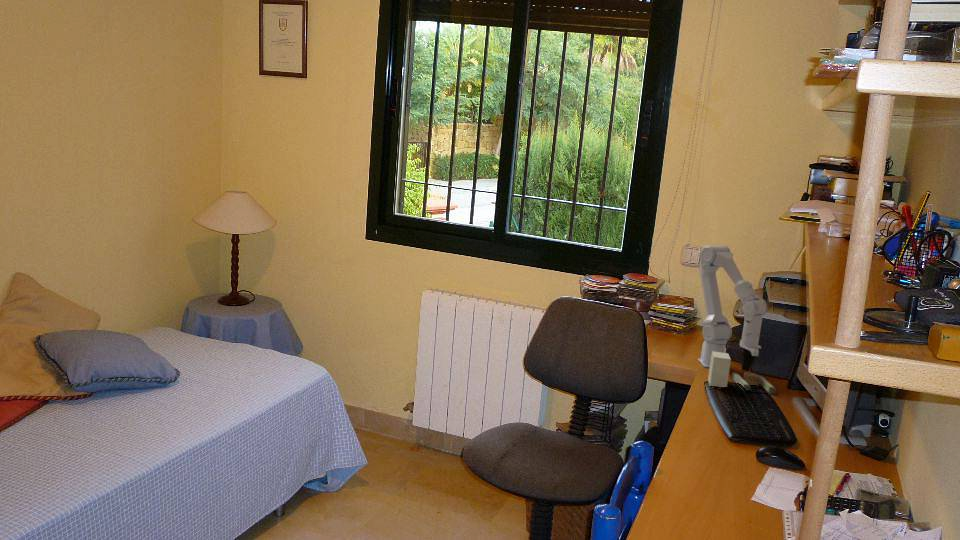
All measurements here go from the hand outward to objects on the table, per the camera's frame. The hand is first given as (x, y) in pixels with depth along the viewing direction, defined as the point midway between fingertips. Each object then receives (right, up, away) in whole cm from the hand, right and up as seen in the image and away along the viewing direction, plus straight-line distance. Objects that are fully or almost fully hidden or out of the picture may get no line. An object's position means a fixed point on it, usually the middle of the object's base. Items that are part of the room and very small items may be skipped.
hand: (745, 370), depth 281 cm
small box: (-13, -4, -11) cm, 18 cm away
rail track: (0, -4, -9) cm, 10 cm away
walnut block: (0, -4, -6) cm, 7 cm away
